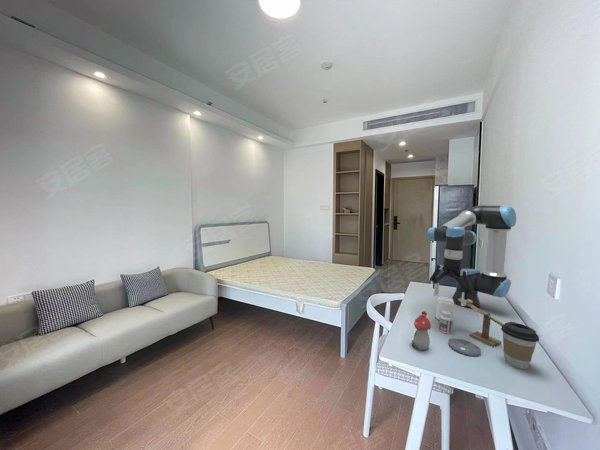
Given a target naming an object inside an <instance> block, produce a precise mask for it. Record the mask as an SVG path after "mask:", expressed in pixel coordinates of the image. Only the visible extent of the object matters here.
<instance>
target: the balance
mask: <svg viewBox="0 0 600 450" xmlns="http://www.w3.org/2000/svg"><path fill="white" fill-rule="evenodd" d="M458 300H459V301H460V302H461V300H462V298H459V299H458ZM472 303H473V301H472V300H469V299H468V300H466V304H467V305H468V306H470V307H471V308H470V309H473V310H474V311H476V312H477V313H480V314H481V315H483V320H482V327H481V328H482V330H481V331H479V330H476V331H474V332H471V333H469V334H468V337H470V338H472V339H474V340H477V341H478V340H479V341H478V342H480V341H481V342H480V343H482V344H485V345H487V344H488V345H487V346H489V345H490V346H489V347H491V346H492V348H495V347H497V346H499V344H500V345H502V341H501V340H499V339H497V338H494V337H492V336H490V328H491V327H490V326H491V320H492V321H493V323H496V324H498V325H500V326H501V327H502V326H503V325H505V323H503V322H502V321H499V320H498V319H496V318H495V317H494V316H492V315H491V314H490V313H487V312H485V311H484V310H482V309H480V307H479V308H477V307H475V306H474V305H472ZM512 322H513V323H517V322H515V321H512ZM494 346H495V347H494Z"/></svg>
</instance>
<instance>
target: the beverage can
mask: <svg viewBox="0 0 600 450" xmlns="http://www.w3.org/2000/svg"><path fill="white" fill-rule="evenodd" d="M442 311H448V312H450V313H451V318H452V322H453V319H454V311H455V303H454V301H453V299H452V297H451V298H450V297H447V296H438V298H437V299H436V309H435V318H436V319H437V320H440V315H442Z"/></svg>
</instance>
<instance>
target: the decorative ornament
mask: <svg viewBox="0 0 600 450" xmlns="http://www.w3.org/2000/svg"><path fill="white" fill-rule="evenodd" d="M427 315H428V312H427V311H424V310H423V311H421V314H420V315H418V316H417V317H416V318H415V320H414V321H413V325H414V328H415V329H416V330H415V332H414V335H413V340H411V346H412V347H413V348H415V350H419V351H427V349H429V347H430V344H431V341H430V334H429V332H428V330H431V328H432V323H431V321H430V319H429V318H428V316H427Z"/></svg>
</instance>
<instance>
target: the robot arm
mask: <svg viewBox="0 0 600 450" xmlns="http://www.w3.org/2000/svg"><path fill="white" fill-rule="evenodd" d="M516 222H517V214H516V210H515V209H514V208H513V206H511V205H510V206H509V205H482V204H481V205H476V206H472V207H470V208H467V209H465V210H462V211H461V212H460V213H459V214H458V216H455V217H454V218H452V219H451V220H448V222H445V223H444V224H442V225H441V226H439V227H429V228H428V230H427V232H426V235H427V236H426V237H427V239H428V240H429V241H433V242H439V243H445V244H444V256H443V265H442V264H437V265H436V268H435V271H434V272H433V274H432V275H431V276H430V278H429V281H430V282H432V289H433V296H434V297H437V296H438V297H439V291H440V290H439V288H440V283H439V282H440V281H441V280H442V279H444V278H445V277H450V278H453V279H455V280H456V285H455V286H456V289H455V291H454V293H453V296H452V297H451V299H453V301H454V305H457V306H460V307H463V308H468V309H472V308H471V307H470V306H468V305H467V304H466V300H468V299H469V300H472V301H473V303H472V305H474V306H475V307H477V308H479V309H480V307H481V302H480V299H479V294H478V293H482V294H486V295H488V296H493V297H495V298H496V297H497V298H505V297H506V296H507V294H508V293H509V291H510V288H511V284H512V282H511V280H510V279H509V278H508V276H507V274H506V273H505V260H506V248H507V236H508V232H509V231H511V229H512V227H515V226H516ZM473 225H485V229H486V231H487V243H486V256H485V257H486V258H485V260H486V261H485V269H484V270H482V271H480V270H479V269H477V268H476V269H475V268H462V265H463V260H462V259H463V253H464V246H470V245H474V244H475V243H476V242H477V240H478V239H477V238H478V237H477V234H476V233H475V232H474V231H472V230H467V229H465V228H466V227H469V226H473ZM442 270H443V272H441V271H442ZM440 272H441V274H440ZM439 274H440V275H439ZM459 298H462V300H461V302H460V301H459V300H458V299H459Z"/></svg>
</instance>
